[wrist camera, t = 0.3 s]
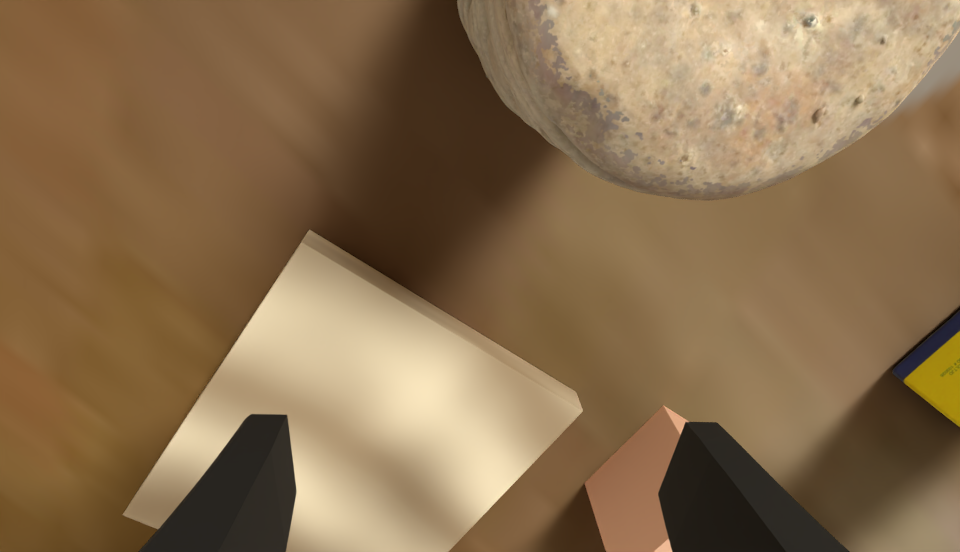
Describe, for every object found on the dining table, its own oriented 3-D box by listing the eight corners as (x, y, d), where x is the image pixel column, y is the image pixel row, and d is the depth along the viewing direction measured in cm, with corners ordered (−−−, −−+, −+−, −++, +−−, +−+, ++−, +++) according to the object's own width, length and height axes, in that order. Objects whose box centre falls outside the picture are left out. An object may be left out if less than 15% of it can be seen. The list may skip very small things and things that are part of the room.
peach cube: (664, 526, 27) (710, 631, 22) (583, 481, 25) (616, 584, 21) (743, 455, 25) (810, 552, 21) (662, 404, 24) (715, 496, 19)
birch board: (385, 595, 27) (383, 619, 26) (136, 491, 24) (122, 515, 23) (576, 391, 23) (582, 410, 22) (309, 229, 20) (301, 242, 18)
